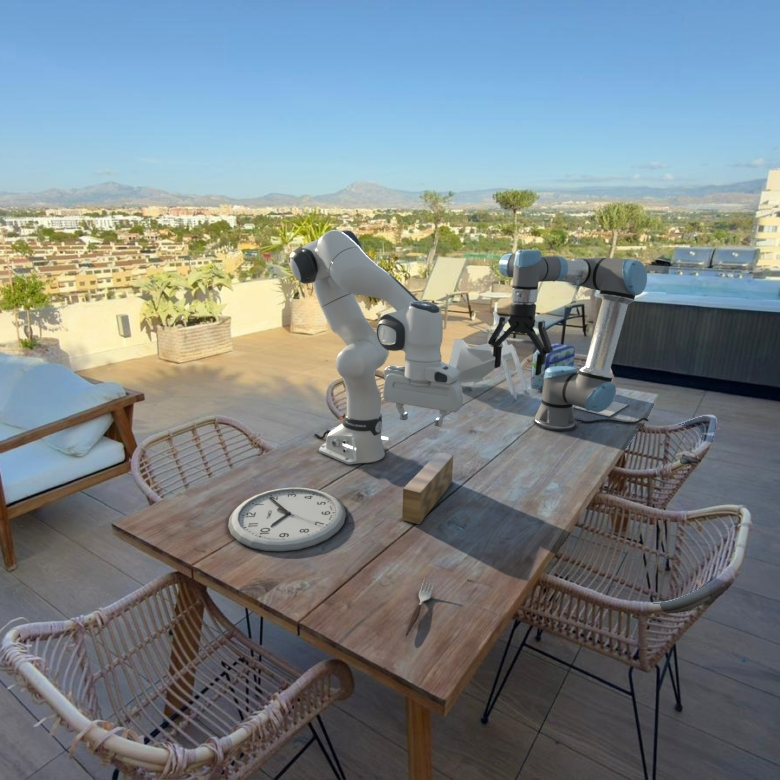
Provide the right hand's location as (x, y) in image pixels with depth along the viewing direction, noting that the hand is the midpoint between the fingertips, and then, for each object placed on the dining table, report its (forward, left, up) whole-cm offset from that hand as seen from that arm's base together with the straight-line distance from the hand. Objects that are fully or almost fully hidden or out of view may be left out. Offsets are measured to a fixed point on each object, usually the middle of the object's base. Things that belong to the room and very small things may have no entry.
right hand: (517, 370), depth 164 cm
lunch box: (-28, -86, -30) cm, 96 cm away
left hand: (+28, +39, -4) cm, 48 cm away
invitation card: (-45, -61, -30) cm, 82 cm away
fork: (+25, +76, -30) cm, 85 cm away
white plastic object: (+6, -73, -30) cm, 80 cm away
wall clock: (+61, +46, -30) cm, 82 cm away
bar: (+25, +31, -30) cm, 50 cm away
